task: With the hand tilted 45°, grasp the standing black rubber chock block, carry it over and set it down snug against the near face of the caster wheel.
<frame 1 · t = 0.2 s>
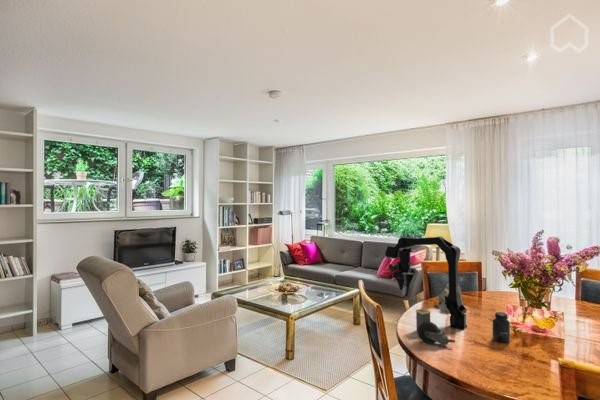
hand: (404, 288, 193), 15 cm above the table, tool pointing down, fingers open, 9 cm apart
ceramic cottage: (448, 308, 206), on the table
supplement bottle: (501, 340, 158), on the table
caster wheel: (436, 344, 155), on the table
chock: (423, 331, 169), on the table
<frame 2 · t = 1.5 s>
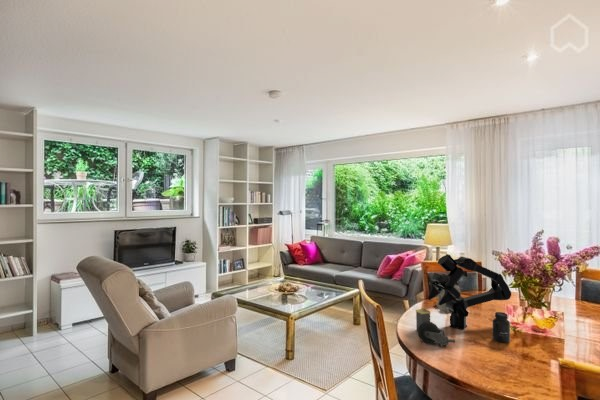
hand: (433, 301, 172), 13 cm above the table, tool tilted 45°, fingers open, 9 cm apart
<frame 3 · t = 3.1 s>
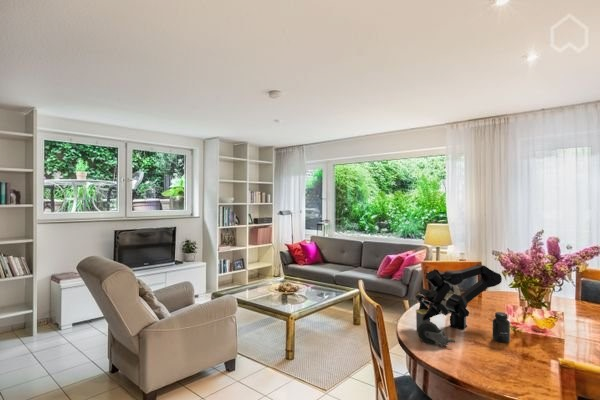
hand: (420, 317, 169), 7 cm above the table, tool tilted 45°, fingers closed on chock, 4 cm apart
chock: (423, 331, 169), on the table, touching gripper
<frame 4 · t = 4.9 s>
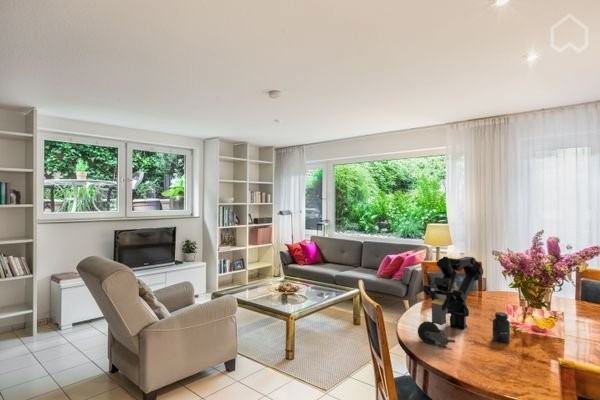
hand: (437, 309, 160), 14 cm above the table, tool tilted 45°, fingers closed on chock, 4 cm apart
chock: (439, 322, 161), point 7 cm above the table, touching gripper
when the fingers open (8 cm above the table, at t = 6.5 s): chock drops 1 cm, on the table.
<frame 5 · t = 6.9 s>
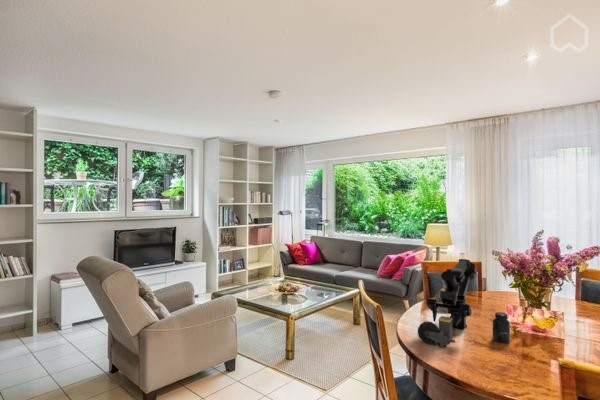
hand: (444, 323, 157), 8 cm above the table, tool tilted 45°, fingers open, 9 cm apart
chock: (445, 340, 158), on the table
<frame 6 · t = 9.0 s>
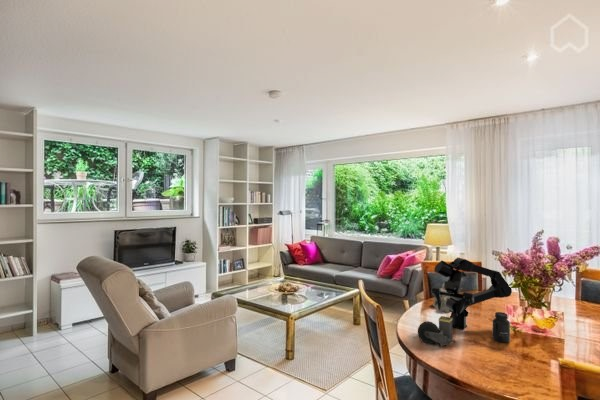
hand: (449, 311, 166), 10 cm above the table, tool tilted 40°, fingers open, 9 cm apart
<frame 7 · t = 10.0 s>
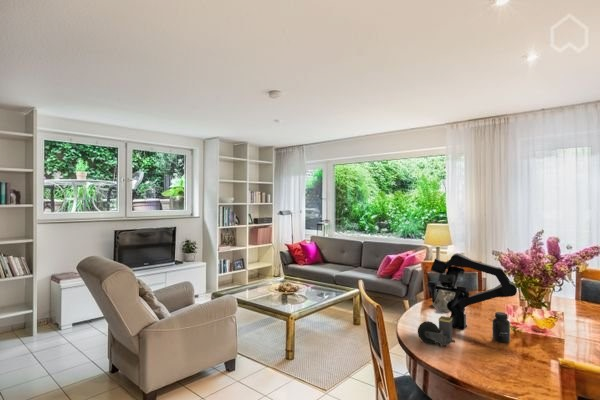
hand: (442, 304, 167), 14 cm above the table, tool tilted 45°, fingers open, 9 cm apart
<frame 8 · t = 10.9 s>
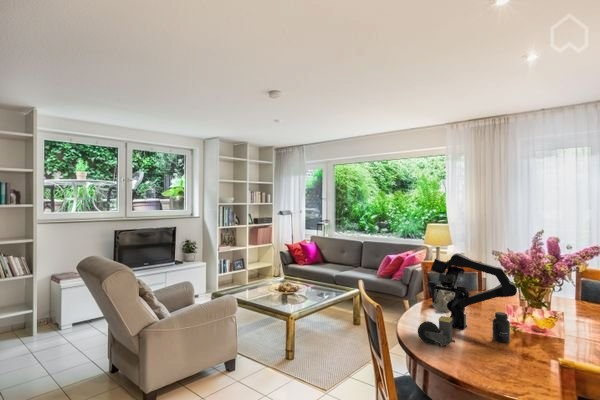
hand: (442, 304, 167), 14 cm above the table, tool tilted 45°, fingers open, 9 cm apart
at the end: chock 0.0 cm from the target spot, on the table; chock tilted 0°; caster wheel moved 0.3 cm from its start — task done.
